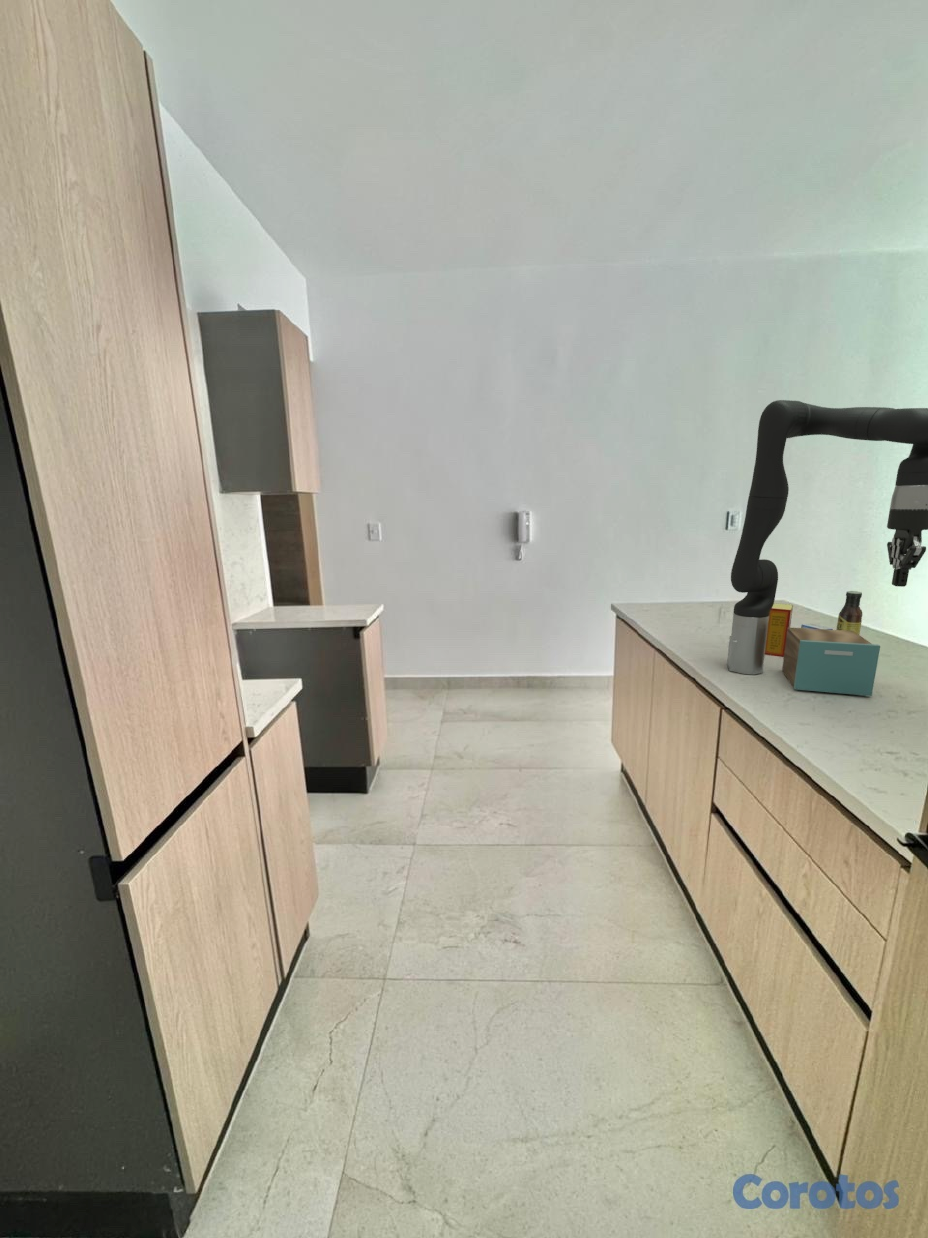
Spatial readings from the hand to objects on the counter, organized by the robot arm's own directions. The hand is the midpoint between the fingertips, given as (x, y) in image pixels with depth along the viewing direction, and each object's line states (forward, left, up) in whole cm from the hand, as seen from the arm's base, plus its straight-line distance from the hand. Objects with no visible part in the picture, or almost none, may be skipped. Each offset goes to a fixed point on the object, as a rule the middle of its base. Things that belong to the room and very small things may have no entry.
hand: (898, 585), depth 113 cm
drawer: (-6, +18, -30) cm, 36 cm away
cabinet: (-6, +20, -31) cm, 37 cm away
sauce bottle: (+10, +56, -31) cm, 65 cm away
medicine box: (0, +52, -31) cm, 61 cm away
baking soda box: (-12, +48, -31) cm, 58 cm away
